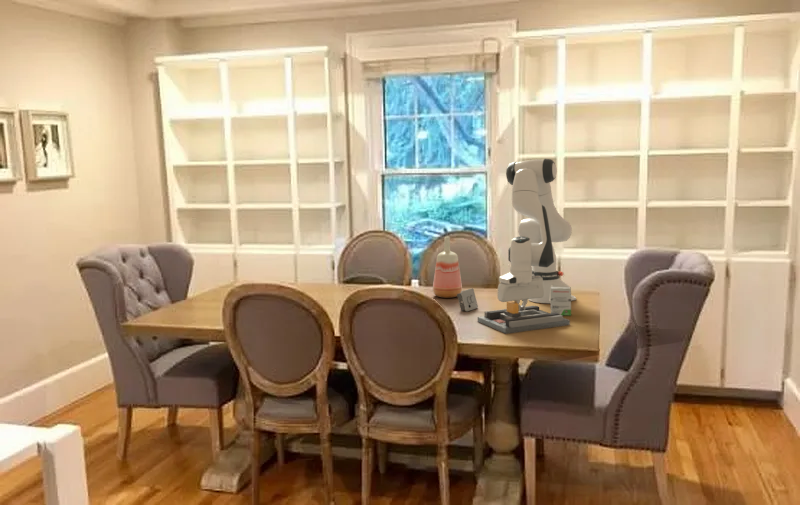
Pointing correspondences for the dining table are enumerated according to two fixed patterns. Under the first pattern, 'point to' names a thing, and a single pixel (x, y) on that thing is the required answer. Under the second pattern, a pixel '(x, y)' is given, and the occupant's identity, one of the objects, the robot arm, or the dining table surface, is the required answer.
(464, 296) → the electrical switch
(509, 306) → the lever
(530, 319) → the pair of panel rails
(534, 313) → the panel
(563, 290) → the ink box
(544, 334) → the dining table surface
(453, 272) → the vase
